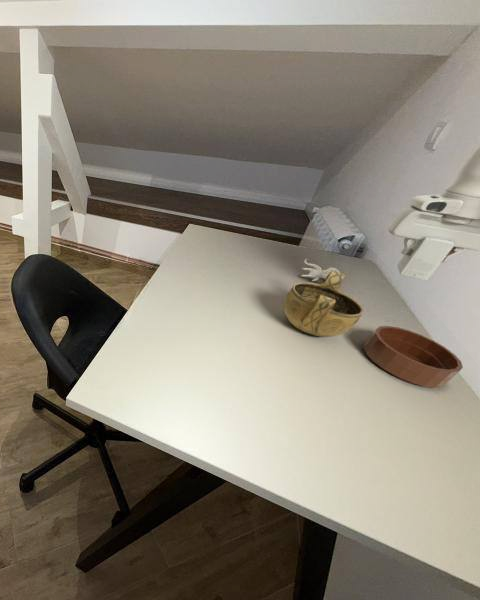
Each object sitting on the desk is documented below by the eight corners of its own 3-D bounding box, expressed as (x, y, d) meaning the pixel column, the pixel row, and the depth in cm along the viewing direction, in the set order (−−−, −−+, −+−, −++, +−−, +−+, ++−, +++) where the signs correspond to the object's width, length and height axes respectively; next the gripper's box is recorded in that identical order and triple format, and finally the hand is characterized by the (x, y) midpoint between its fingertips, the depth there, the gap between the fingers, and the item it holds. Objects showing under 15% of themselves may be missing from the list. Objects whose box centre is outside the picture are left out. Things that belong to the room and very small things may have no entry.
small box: (426, 281, 81) (456, 244, 76) (398, 274, 84) (425, 237, 78) (421, 271, 87) (449, 236, 81) (396, 265, 90) (421, 230, 84)
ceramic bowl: (284, 301, 102) (307, 260, 94) (345, 325, 94) (376, 283, 85) (266, 330, 88) (291, 285, 80) (336, 362, 79) (372, 315, 71)
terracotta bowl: (424, 355, 85) (440, 338, 82) (458, 399, 72) (479, 381, 69) (354, 335, 90) (366, 319, 86) (374, 373, 77) (389, 356, 73)
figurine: (305, 256, 116) (346, 260, 110) (302, 261, 124) (340, 264, 118) (301, 278, 116) (341, 283, 110) (298, 281, 124) (336, 285, 118)
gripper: (509, 211, 75) (465, 263, 82) (405, 195, 81) (373, 245, 88) (527, 218, 70) (479, 272, 77) (415, 201, 76) (381, 252, 84)
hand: (421, 257), depth 83 cm, fingers closed on small box, 6 cm apart
